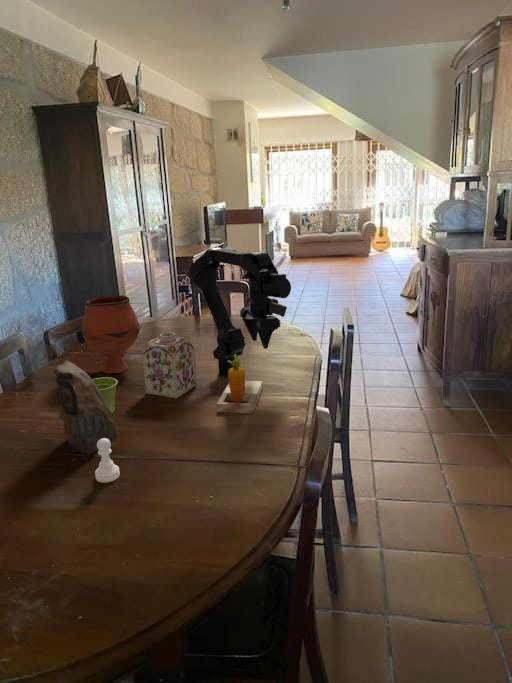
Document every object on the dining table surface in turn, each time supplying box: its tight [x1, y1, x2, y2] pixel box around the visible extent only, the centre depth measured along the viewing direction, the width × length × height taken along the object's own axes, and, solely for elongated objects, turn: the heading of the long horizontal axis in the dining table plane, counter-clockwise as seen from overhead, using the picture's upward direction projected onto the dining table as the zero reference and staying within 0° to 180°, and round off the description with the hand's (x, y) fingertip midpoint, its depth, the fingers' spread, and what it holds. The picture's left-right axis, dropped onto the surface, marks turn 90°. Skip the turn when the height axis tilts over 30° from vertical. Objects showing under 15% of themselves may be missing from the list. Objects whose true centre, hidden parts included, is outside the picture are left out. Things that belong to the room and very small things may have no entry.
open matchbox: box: [216, 380, 263, 414], centre depth 147 cm, size 10×18×2 cm, turn 171°
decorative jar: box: [141, 331, 198, 399], centre depth 154 cm, size 12×12×18 cm
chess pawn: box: [94, 438, 121, 484], centre depth 108 cm, size 5×5×9 cm
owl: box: [53, 359, 119, 456], centre depth 122 cm, size 13×13×20 cm
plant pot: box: [91, 376, 119, 414], centre depth 140 cm, size 9×9×9 cm
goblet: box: [81, 294, 141, 374], centre depth 173 cm, size 19×19×25 cm
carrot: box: [227, 354, 246, 403], centre depth 141 cm, size 5×5×15 cm
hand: (260, 344), depth 155 cm, fingers open, 9 cm apart
